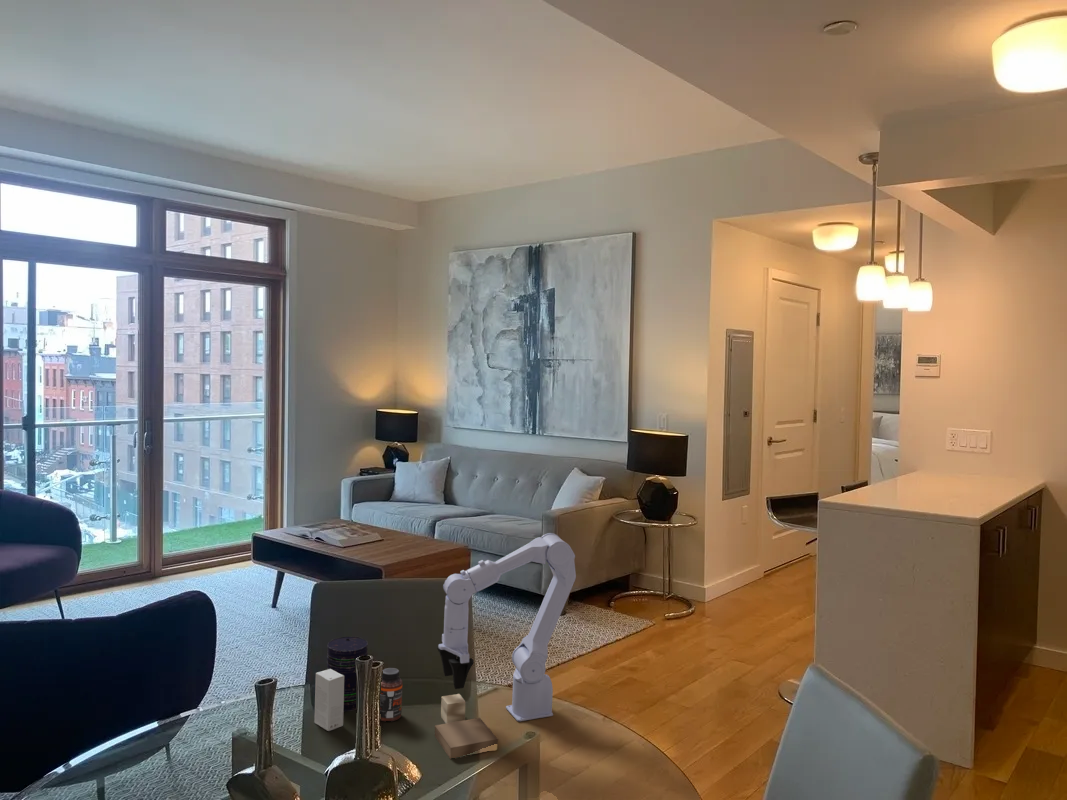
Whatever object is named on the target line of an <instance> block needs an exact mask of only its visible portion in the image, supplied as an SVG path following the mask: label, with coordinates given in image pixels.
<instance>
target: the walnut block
mask: <svg viewBox="0 0 1067 800" xmlns="http://www.w3.org/2000/svg"><path fill="white" fill-rule="evenodd" d="M434 737H435V738H436V740H437V742H438V743H439V745H440V747H442V749H443V751H444V752H445V753H446V756H447V757H448V756H449V757H448V758H449V760H452V759H451V758H455V759H457V758H456V757H460V756H463V755H467V754H470V753H473V752H475V751H478V750H480V749H482V748H486V747H488V746H491V745H494V744H499V742H498V741H499V739H498V737H497V735H495V733H494V732H493V731H492V730H491V729H490V727H488V726H487V725H486V723H485V722H484V720H483V719H482V718H481V717H475V718H470V719H465V720H463V721H458V722H452V723H442V724H441V723H440V724H435V725H434ZM460 758H461V757H460Z"/></svg>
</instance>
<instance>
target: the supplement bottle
mask: <svg viewBox="0 0 1067 800" xmlns="http://www.w3.org/2000/svg"><path fill="white" fill-rule="evenodd" d="M382 671H383V675H382V674H381V678H382V682H381V694H380V714H381V720H380V721H382V722H386V721H391V722H395V721H397V720H399V719H401V718H402V710H403V709H402V708H403V705H402V704H403V680H402V679H401V678H400V670H399V669H398V668H395V667H388V668H386V667H385V668H384V669H382Z"/></svg>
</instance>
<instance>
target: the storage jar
mask: <svg viewBox="0 0 1067 800" xmlns="http://www.w3.org/2000/svg"><path fill="white" fill-rule="evenodd" d="M368 646H369V645H368V641H367V640H366V639H364V638H362V637H359V636H342V637H341V636H340V637H336V638H332V639H331V640H330V641H328V643H327V651H326V653H327V654H326V668H327V670H328V669H332V670H334V671H336V672H338V673H340V674H342V675H344V709H343V712H352V711H356V710H357V709H356V673H355V659H356V658H357V657H359V656H368V655H369V653H368V652H369V651H368ZM368 657H369V656H368Z"/></svg>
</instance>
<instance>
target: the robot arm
mask: <svg viewBox="0 0 1067 800" xmlns="http://www.w3.org/2000/svg"><path fill="white" fill-rule="evenodd" d="M575 558H576V554H575V552H574V551H573V549H572V547H571V546H570V544H569V543H567V542H566V541H564V540H563V539H561V537H560V536H559V535H558V534H556V533H553V532H548V533H545V534H543V535H542V536H538V537H536V538H534V539H532V540H531V541H529V542H528V543H527V544H524V545H522V546H520V548H517V549H516V550H514V551H512V552H510V553H508V554H507V555H504V556H503V557H501V558H499V559H497V560H496V561H492V560H490V559H486V560H483V559H481V560H479V561H477V563H478V564H477V565H474V566H472V567H470V568H468V569H466V570H464V569H462V570H460V573H453V574H450V575H449V576H448V577H447V578H446V579H445V580H444V583H443V585H442V588H443V591H444V593H445V594H446V595H445V599H444V600H445V601H444V603H445V604H444V615H443V617H444V618H443V633H442V634H441V642H442V643H439V644H438V645H437V646H436V649H437V652H438V653H439V656H440V659H441V663H442V664H441V665H442V671H443V674H444V677H452V679H453V687H454V689H455V690H459V689H464V687H465V685H466V680H467V677H468V675H469V672H470V670H471V668H472V667H473V665H474V659H473V658H472V657H471V658H470V653H469V643H468V637H469V636H468V635H469V611H470V610H469V609H470V608H469V601H470V599H471V597H472V595H473V594H476V593H478V592H480V591H483V590H484V589H486V588H488V587H490V586H492V585H494V584H496V583H498V582H499V581H500V578H501V577H502V575H503V574H505V573H508V572H511V571H512V570H515V569H517V568H519V567H521V566H522V567H523V566H524V565H527V564H528V563H531V562H532V563H537V564H542V565H546V563H548V567H549V568H550V570H551V573H552V579H551V581H550V583H549V586H548V588H547V590H546V593H545V595H544V597H543V599H542V602H541V605H540V606H539V609H538V612H537V614H536V616H535V619H534V620H533V623H532V625H531V628H530V629H529V632H528V634H527V635H526V636H523V637H522V639H521V642H520V643H519V645H517V647H515V649H514V650H513V651H512V655H511V660H512V661H511V662H512V664H513V666H514V667H515V670H514V672H513V675H512V700H511V701H512V702H511V704H509V705H506V706H505V709H506V710H507V711H508V713H510V714H511V716H513V718H514V719H515V721H517V722H525V721H530V720H536V719H542V718H547V717H553V716H554V713H553V710H552V709H553V691H554V689H553V687H554V686H553V682H552V680H551V677H550V676H549V674H545V673H546V662H547V660H548V654H549V652H548V649H549V648H548V645H549V643H550V640H551V638H552V635H553V633H554V630H555V629H556V626H557V623H558V621H559V619H560V616H561V614H562V612H563V610H564V607H565V606H566V605H565V604H566V602H567V600H568V598H569V596H570V593H571V591H572V589H573V585H574V583H575V581H576V578H577V573H576V565H575V564H576V563H575Z"/></svg>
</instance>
